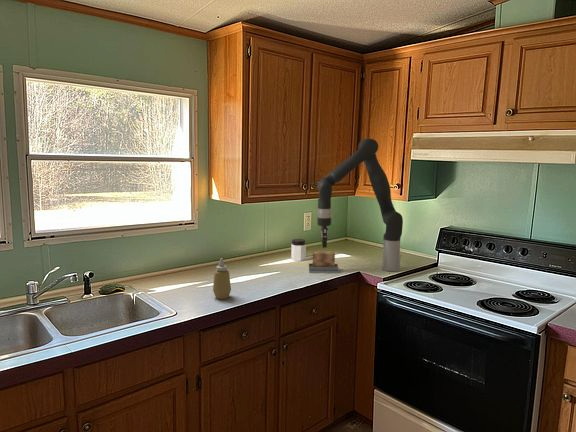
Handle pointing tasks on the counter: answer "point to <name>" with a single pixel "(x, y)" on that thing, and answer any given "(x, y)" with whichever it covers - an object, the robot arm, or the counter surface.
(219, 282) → the squeeze bottle
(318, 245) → the counter surface
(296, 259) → the jar
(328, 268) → the floor track
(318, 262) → the door panel
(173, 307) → the counter surface
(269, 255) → the counter surface
